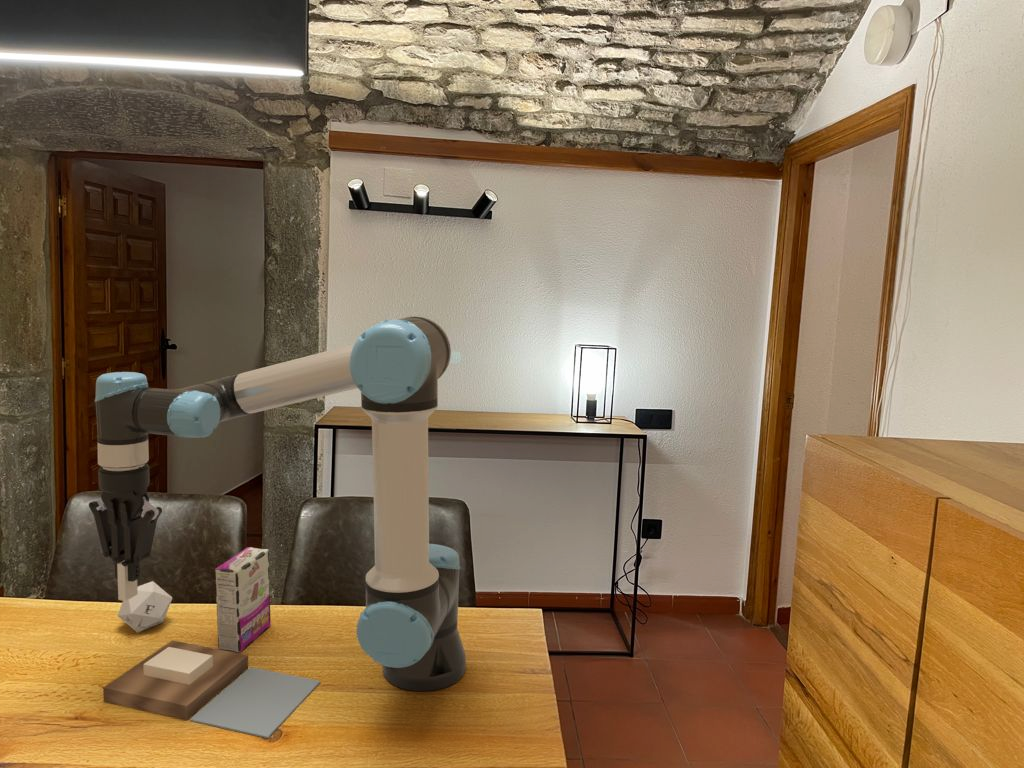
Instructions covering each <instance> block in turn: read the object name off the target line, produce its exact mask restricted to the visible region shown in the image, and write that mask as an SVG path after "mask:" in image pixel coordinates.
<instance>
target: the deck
mask: <svg viewBox="0 0 1024 768" xmlns="http://www.w3.org/2000/svg"><path fill="white" fill-rule="evenodd" d="M168 647H172V648H177V649H182V650H187V651H193V652H198V653H203V654H208V655H213V667H211V668H210V669H209V670H207V671H206V672H205V673H204V674H202V675H201V676H200V677H199V678H197V679H196V680H195V681H194V682H192V683H191V684H190V685H188V684H183V683H179V682H174V681H169V680H164V679H160V678H155V677H150V676H145V675H144V666H143V664H145V663H146V662H147V661H149V660H150V659H152V658H153V657H155V656H156V655H158V654H159V653H160V652H162V651H163V650H165V649H166V648H168ZM248 669H249V654H244V653H237V652H231V651H224V650H219V649H218V648H213V647H207V646H204V645H196V644H194V643H193V644H192V643H187V642H182V641H177V640H170V641H169V642H168V643H166V644H165V645H163V646H161V647H160V648H159V649H158V650H156V651H155V652H153V653H152V654H150V655H149V656H147V657H146V658H144V659H142V660H141V661H140V662H139V663H136V665H133V667H131V668H129V669H128V670H126V671H125V672H124V673H122V674H121V675H119V676H117V678H115V679H113V680H112V681H111V682H109V683H108V684H105V686H104V687H102V688H103V689H102V690H103V691H102V692H103V693H102V694H103V702H104V703H108V704H114V705H117V706H122V707H126V708H131V709H136V710H139V711H144V712H148V713H153V714H157V715H161V716H166V717H171V718H175V719H180V720H183V721H184V720H185V721H188V720H190V719H191V718H192V717H193V716H194V715H195V714H197V713H198V712H199V711H200V710H201V709H202V708H203V707H205V706H206V705H207V704H208V703H209V702H210V701H212V700H213V699H214V698H215V697H216V696H217V695H219V694H220V693H221V692H222V691H223V690H224V689H226V688H227V687H228V686H229V685H230V684H231V683H233V682H234V681H235V680H236V679H237V678H238V677H239V676H241V675H242V674H243V673H244V672H245V671H246V670H248Z"/></svg>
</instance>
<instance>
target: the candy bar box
mask: <svg viewBox="0 0 1024 768" xmlns="http://www.w3.org/2000/svg"><path fill="white" fill-rule="evenodd" d="M269 553H270V551H269V549H268V548H260V547H252V546H249V547H245V548H244V549H243V550H241V551H240V552H239V553H237V554H236V555H234V556H233V557H231V558H230V559H228V560H227V561H225V562H224V563H223V564H220V565H219V566H217V567H216V568H215V569H214V574H215V575H214V577H215V598H216V619H217V621H216V623H217V643H218V644H217V647H218V648H217V649H219V650H224V651H229V652H234V653H239V654H241V653H242V652H243V651H244V650H245V649H246V648H248V647H249V645H251V644H253V642H254V641H255V640H256V639H257V638H258V637H259V636H260V635H262V634H263V633H264V632H265V631H266V630H267V629H269V627H271V624H272V621H271V596H270V595H271V593H270V592H271V591H270V590H271V589H270V588H271V587H270V560H269V559H270V557H269V556H270V554H269Z"/></svg>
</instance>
